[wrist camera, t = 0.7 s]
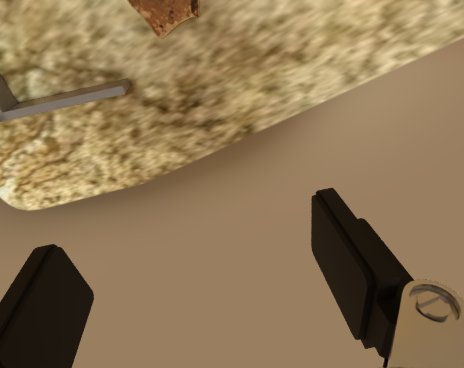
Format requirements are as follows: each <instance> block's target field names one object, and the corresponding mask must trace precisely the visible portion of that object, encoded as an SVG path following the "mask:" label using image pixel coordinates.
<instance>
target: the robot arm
mask: <svg viewBox="0 0 464 368" xmlns="http://www.w3.org/2000/svg"><path fill="white" fill-rule="evenodd" d="M311 230H312V232H311V234H312V238H311V241H312V242H311V243H312V245H311V246H312V252H313V254H314V256H315V259H316V261H317V263H318V265H319V267H320V269H321V271H322V273H323V275H324V277H325V279H326V281H327V283H328V285H329V287H330V289H331V292H332V293H333V296H334V298H335V299H336V302H337V304H338V306H339V308H340V310H341V312H342V314H343V316H344V318H345V320H346V322H347V324H348V326H349V329H350V331H351V333H352V335H353V336H354V338H355V339H356V340H359V339H361V341H362V343H363V345H364V347H365V349H368V348H372V347H375V348H376V349H377V352H378V354H379V355H380V356H381V357H383V363H382V368H464V301H463V299H462V298H461V297H460V296H459V295H458V294H457V293H456V292H455V291H454V290H452V289H451V288H449V287H447V286H446V285H443V284H441V283H439V282H436V281H432V280H427V279H418V280H414V279H413V278H412V277H411V276H410V275H409V273H408V272H407V271H406V270H405V268H404V267H403V266H402V265H401V263H400V262H399V261H398V260H397V258H396V257H395V256H394V255H393V253H392V252H391V251H390V250H389V249H388V247H387V246H386V245H385V243H384V242H383V241H382V240H381V238H380V237H379V236H378V235H377V234H376V232H375V231H374V230H373V229H372V227H371V226H370V225H369V224H368V222H367V221H366V220H365V219H362V218H360V219H357V218H356V217H355V216H354V214H353V213H352V212H351V210H350V209H349V208H348V206H347V205H346V204H345V203H344V201H343V200H342V199H341V197H340V196H339V195H338V193H337V192H336V191H335V190H334V189H333V188H328V189H323V190H319V191H317V192H316V195H314V196H312V229H311ZM93 300H94V294H93V291H92V290H91V288H90V287H89V285H88V284H87V283H86V281H85V280H84V278H83V277H82V276H81V274H80V273H79V271H78V270H77V269H76V267H75V266H74V265H73V263H72V261H71V260H70V259H69V257H68V256H67V254H66V253H65V252H64V250H63V249H62V248H61V247H57V246H56V245H54V244H51V245H46V246H41V247H37V248H35V249H34V250H33V251H32V253H31V254H30V256H29V258H28V259H27V261H26V262H25V264H24V265H23V267H22V269H21V270H20V272H19V273H18V275H17V276H16V278H15V280H14V281H13V283H12V284H11V286H10V288H9V289H8V291H7V292H6V294H5V296H4V297H3V299H2V300H1V302H0V368H72V365H73V362H74V359H75V356H76V352H77V349H78V346H79V343H80V340H81V337H82V334H83V331H84V328H85V325H86V322H87V318H88V316H89V313H90V310H91V306H92V303H93Z"/></svg>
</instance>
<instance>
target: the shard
mask: <svg viewBox="0 0 464 368" xmlns="http://www.w3.org/2000/svg"><path fill="white" fill-rule="evenodd" d="M127 1H128V2H129V3H130V4H131V5H132V6H133V7H134V8H135V9H136V10H137V11H138V13H139V14H140V15H141V16H142V17H143V18H144V19H145V20H146V22H147V23H148V24H149V25H150V27H151V29H152V30H153V31H154V33H155V34H156V35H157V36H158V37H160V38H164V37H165V36H166V35H167V34H168V33H169V32H170V31H171V30H172V29H174V28H175V27H176V26H177V25H178V24H180V23H181V22H183V21H185V20H187V19H189V18H191V17H199V16H200V13H199V0H127Z"/></svg>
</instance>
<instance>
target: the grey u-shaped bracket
mask: <svg viewBox="0 0 464 368" xmlns="http://www.w3.org/2000/svg"><path fill="white" fill-rule="evenodd" d="M129 88H130V83H129V81H128V79H124V80H120V81H115V82H111V83H107V84H102V85H98V86H93V87H89V88H84V89H80V90H75V91H71V92H66V93H62V94H58V95H53V96H49V97H44V98H40V99H35V100H31V101H26V102H22V103H18V102H17V101H16V99H15V97H14V96H13V94H12V93H11V91H10V89H9V88H8V86H7V85H6V83H5V81H4V80H3V78H2V77H1V75H0V122H2V121H7V120H11V119H16V118H20V117H24V116H29V115H33V114H38V113H42V112H47V111H51V110H56V109H60V108H65V107H69V106H73V105H78V104H82V103H87V102H91V101H96V100H100V99H105V98H109V97H114V96H118V95H122V94H126V92H127V91H128V89H129Z"/></svg>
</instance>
